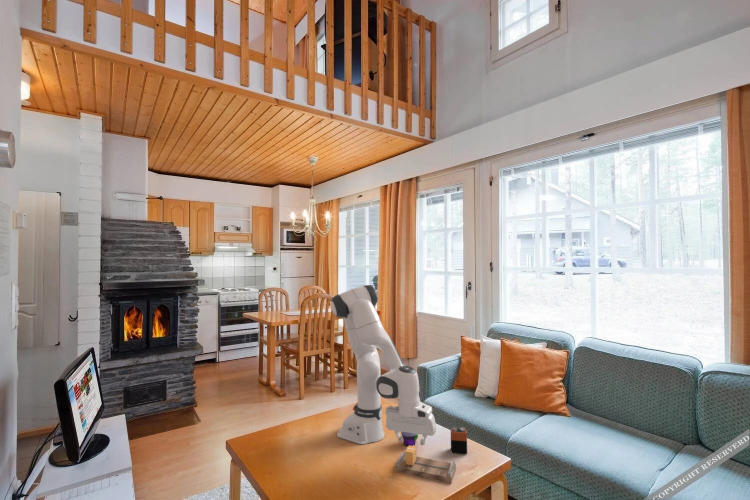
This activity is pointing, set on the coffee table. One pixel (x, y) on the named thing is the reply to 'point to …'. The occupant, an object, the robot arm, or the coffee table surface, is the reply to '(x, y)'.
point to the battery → (458, 440)
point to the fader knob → (410, 455)
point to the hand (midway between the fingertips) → (411, 442)
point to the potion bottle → (409, 438)
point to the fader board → (427, 468)
